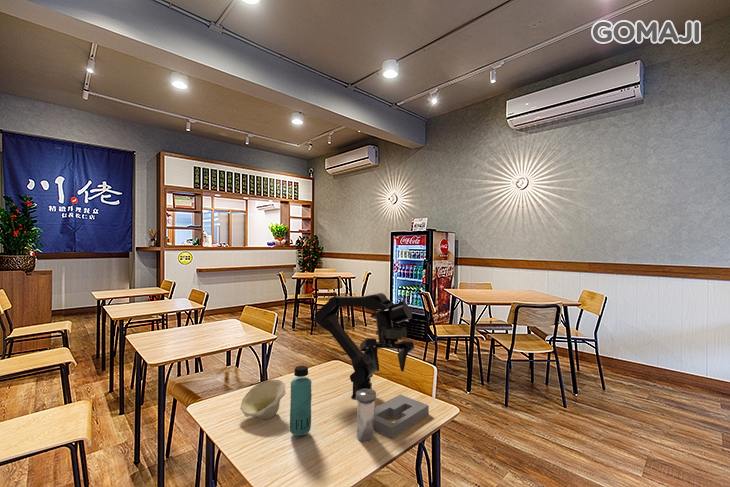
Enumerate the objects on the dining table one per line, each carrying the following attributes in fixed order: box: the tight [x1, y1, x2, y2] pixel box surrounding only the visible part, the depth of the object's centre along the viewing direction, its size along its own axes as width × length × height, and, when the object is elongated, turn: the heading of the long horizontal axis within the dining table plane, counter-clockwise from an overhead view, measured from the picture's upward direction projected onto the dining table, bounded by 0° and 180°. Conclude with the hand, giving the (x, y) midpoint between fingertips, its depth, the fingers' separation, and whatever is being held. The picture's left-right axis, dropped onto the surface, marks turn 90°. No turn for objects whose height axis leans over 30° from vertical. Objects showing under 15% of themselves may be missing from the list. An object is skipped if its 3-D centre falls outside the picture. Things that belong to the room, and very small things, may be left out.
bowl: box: [239, 379, 287, 420], centre depth 109 cm, size 15×14×10 cm
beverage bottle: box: [289, 365, 313, 436], centre depth 99 cm, size 6×7×20 cm
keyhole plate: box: [374, 394, 430, 439], centre depth 109 cm, size 20×12×3 cm, turn 137°
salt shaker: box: [355, 388, 377, 443], centre depth 98 cm, size 6×6×13 cm
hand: (390, 371), depth 111 cm, fingers open, 9 cm apart
